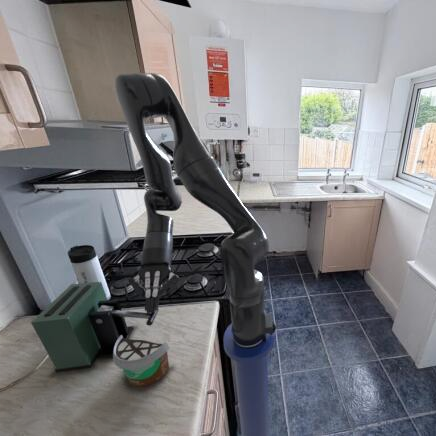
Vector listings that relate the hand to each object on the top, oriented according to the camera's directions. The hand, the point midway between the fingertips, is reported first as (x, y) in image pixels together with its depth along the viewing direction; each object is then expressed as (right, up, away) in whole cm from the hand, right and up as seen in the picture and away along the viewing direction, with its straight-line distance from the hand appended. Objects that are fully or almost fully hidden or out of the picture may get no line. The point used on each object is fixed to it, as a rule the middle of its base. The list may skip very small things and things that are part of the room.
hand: (151, 312), depth 62 cm
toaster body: (-17, -9, +1) cm, 19 cm away
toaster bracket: (-11, -9, +2) cm, 14 cm away
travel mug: (-28, -3, +17) cm, 32 cm away
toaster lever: (-6, -1, -1) cm, 6 cm away
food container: (+2, -13, -7) cm, 15 cm away
